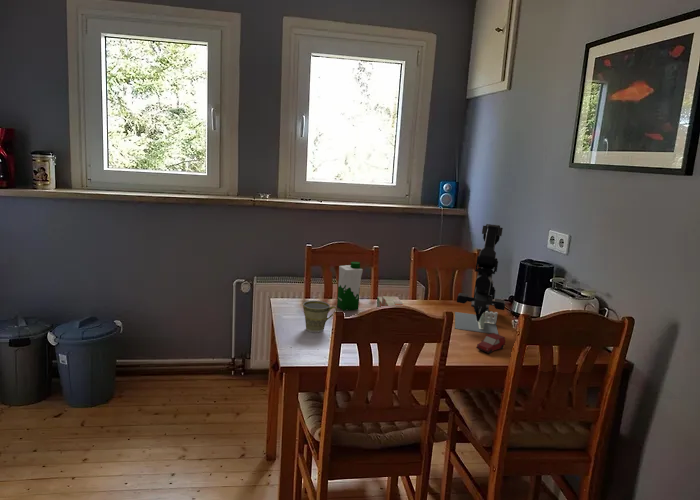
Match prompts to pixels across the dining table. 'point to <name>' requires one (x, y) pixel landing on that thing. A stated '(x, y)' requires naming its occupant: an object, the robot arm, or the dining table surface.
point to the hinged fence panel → (482, 321)
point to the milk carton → (349, 286)
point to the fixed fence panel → (490, 316)
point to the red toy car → (491, 343)
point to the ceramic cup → (316, 315)
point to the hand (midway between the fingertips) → (477, 321)
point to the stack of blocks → (388, 301)
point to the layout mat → (473, 323)
